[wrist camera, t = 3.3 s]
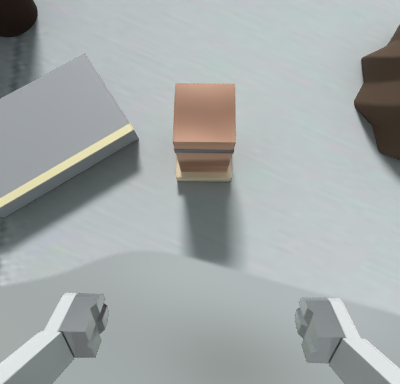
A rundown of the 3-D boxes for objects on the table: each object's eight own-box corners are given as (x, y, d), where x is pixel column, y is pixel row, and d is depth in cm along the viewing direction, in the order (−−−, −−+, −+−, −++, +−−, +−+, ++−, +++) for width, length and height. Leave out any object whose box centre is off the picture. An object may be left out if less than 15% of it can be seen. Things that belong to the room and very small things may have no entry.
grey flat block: (6, 221, 27) (-19, 217, 24) (-32, 141, 29) (-60, 129, 26) (140, 142, 29) (133, 129, 26) (96, 72, 31) (84, 52, 28)
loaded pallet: (230, 181, 28) (242, 150, 19) (177, 181, 28) (165, 149, 19) (229, 129, 29) (241, 77, 20) (179, 129, 29) (169, 76, 20)
